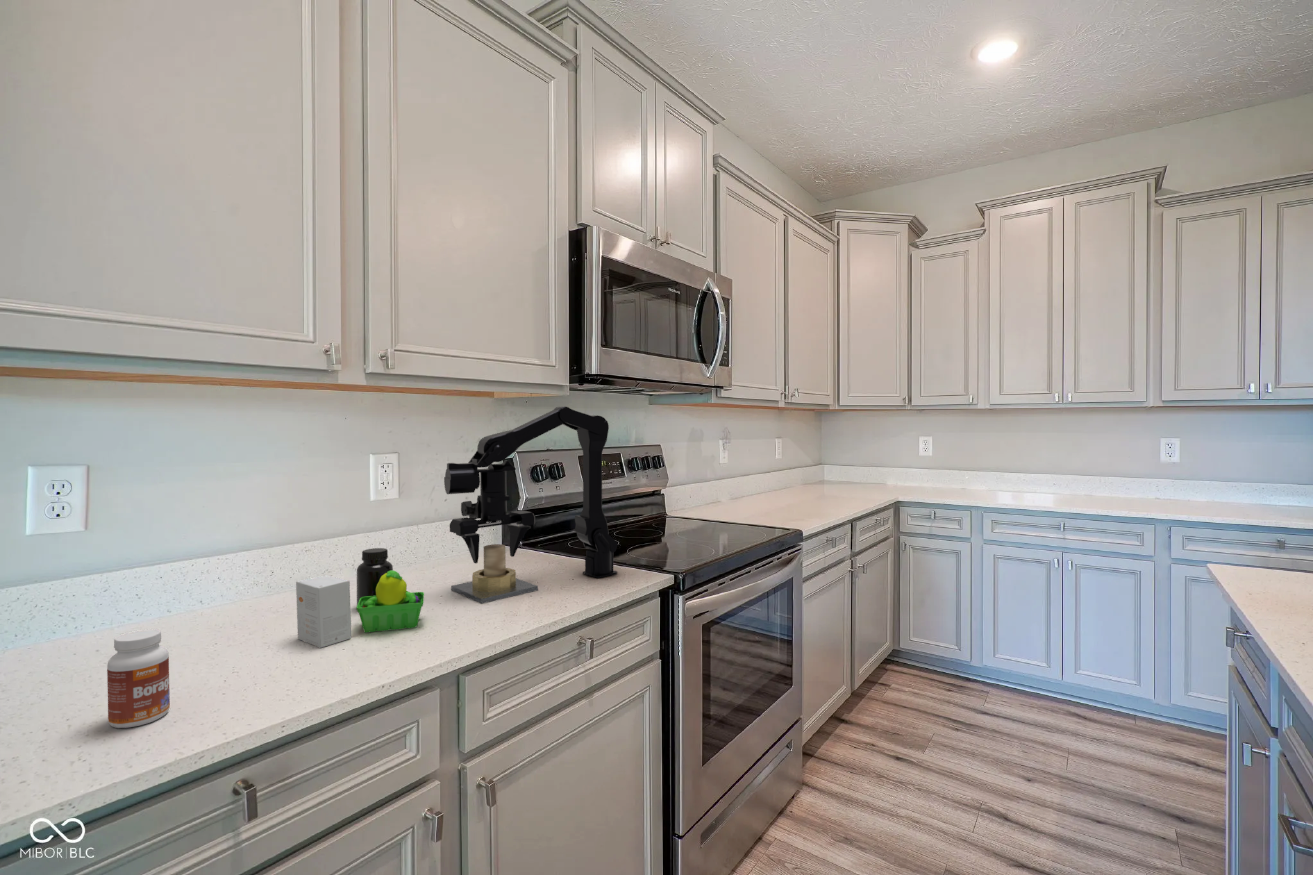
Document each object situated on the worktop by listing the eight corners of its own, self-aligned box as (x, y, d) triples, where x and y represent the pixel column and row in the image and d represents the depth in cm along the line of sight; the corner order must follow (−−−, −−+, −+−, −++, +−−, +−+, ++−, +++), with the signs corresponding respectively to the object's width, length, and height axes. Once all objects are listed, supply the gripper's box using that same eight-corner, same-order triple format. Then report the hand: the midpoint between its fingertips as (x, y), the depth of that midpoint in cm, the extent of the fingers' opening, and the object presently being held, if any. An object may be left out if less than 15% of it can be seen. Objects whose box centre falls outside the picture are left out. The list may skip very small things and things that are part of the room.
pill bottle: (136, 731, 76) (133, 644, 76) (95, 727, 77) (92, 641, 77) (182, 708, 82) (180, 627, 82) (143, 705, 83) (141, 625, 83)
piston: (499, 581, 141) (498, 543, 141) (509, 585, 138) (509, 546, 137) (480, 585, 138) (479, 546, 137) (490, 590, 134) (490, 550, 134)
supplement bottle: (383, 613, 122) (382, 553, 121) (350, 612, 122) (349, 553, 122) (399, 602, 129) (398, 546, 128) (367, 602, 129) (366, 546, 128)
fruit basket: (424, 616, 120) (423, 559, 120) (423, 631, 112) (422, 570, 111) (361, 622, 116) (360, 564, 116) (355, 638, 108) (354, 576, 108)
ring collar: (505, 578, 148) (505, 562, 148) (537, 590, 138) (537, 572, 138) (451, 590, 138) (450, 572, 138) (481, 603, 128) (481, 584, 128)
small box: (352, 639, 108) (350, 580, 107) (319, 648, 103) (318, 587, 103) (328, 630, 112) (327, 573, 112) (296, 639, 108) (295, 580, 107)
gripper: (511, 485, 149) (511, 547, 150) (437, 491, 136) (438, 560, 137) (536, 489, 141) (536, 555, 142) (461, 496, 128) (462, 569, 129)
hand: (494, 559), depth 138 cm, fingers open, 9 cm apart
